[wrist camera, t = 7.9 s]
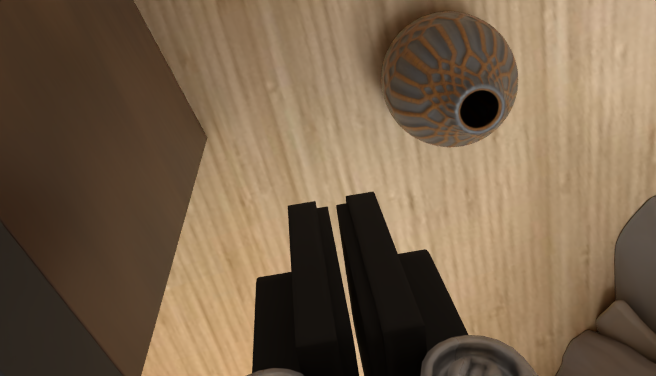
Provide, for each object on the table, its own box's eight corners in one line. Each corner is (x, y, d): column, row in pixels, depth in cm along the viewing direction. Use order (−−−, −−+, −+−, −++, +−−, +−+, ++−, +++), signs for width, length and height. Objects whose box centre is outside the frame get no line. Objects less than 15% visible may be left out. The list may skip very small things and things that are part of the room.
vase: (441, 138, 35) (492, 202, 27) (349, 85, 33) (375, 138, 25) (509, 42, 33) (586, 81, 25) (415, -21, 30) (466, 0, 23)
